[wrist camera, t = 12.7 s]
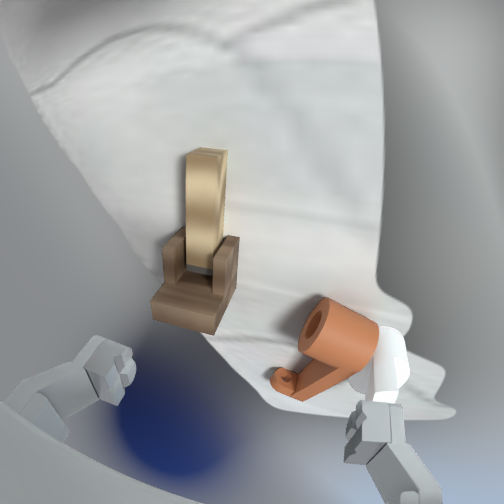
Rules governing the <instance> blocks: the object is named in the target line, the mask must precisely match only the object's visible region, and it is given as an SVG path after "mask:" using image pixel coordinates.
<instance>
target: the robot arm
mask: <svg viewBox="0 0 504 504" xmlns="http://www.w3.org/2000/svg"><path fill="white" fill-rule="evenodd" d="M132 355H133V353H132V350H131V348H130V347H127V346H124V345H121V344H119V343H116V342H113V341H111V340H108V339H106V338H103V337H101V336H98V335H95V336H93V337H92V338H91V339H90V341H89V342H88V343H87V344H86V345H85V346H84V348H83V349H82V350H81V351H80V353H79V354H78V355H77V356H76V358H75V359H74V360H73V361H72V363H71V362H66V363H64V364H61V365H59V366H57V367H54V368H52V369H49V370H47V371H44V372H42V373H39V374H37V375H35V376H32V377H30V378H27V379H25V380H22V381H21V382H20V383H19V385H18V386H17V387H16V389H15V390H14V391H13V392H12V393H11V395H10V396H9V397H8V398H7V400H6V401H5V402H2V401H1V400H0V504H203V503H199V502H196V501H192V500H189V499H186V498H183V497H180V496H177V495H174V494H171V493H168V492H166V491H163V490H160V489H158V488H155V487H152V486H149V485H147V484H145V483H142V482H140V481H137V480H135V479H133V478H130V477H128V476H126V475H124V474H121V473H119V472H117V471H115V470H113V469H111V468H109V467H106V466H104V465H102V464H100V463H98V462H96V461H94V460H92V459H91V458H89V457H87V456H85V455H83V454H81V453H79V452H78V451H76V450H74V449H72V448H71V447H69V446H67V445H65V444H64V443H63V442H64V441H65V439H66V438H67V436H68V434H69V429H68V428H67V426H66V425H65V424H64V422H63V420H65V419H67V418H68V417H70V416H72V415H73V414H75V413H77V412H78V411H80V410H82V409H84V408H85V407H87V406H89V405H90V404H92V403H94V402H95V401H97V400H99V399H102V400H104V401H107V402H109V403H111V404H114V405H116V406H117V405H118V404H119V402H120V401H121V399H122V397H123V396H124V394H125V390H124V387H126V386H128V385H130V384H131V382H132V381H133V379H134V376H135V373H136V365H135V362H134V361H133V359H132V358H131V356H132ZM346 438H347V439H348V441H349V442H348V443H347V445H346V446H345V450H344V463H350V464H360V465H366V468H367V470H368V471H369V473H370V475H371V477H372V479H373V481H374V483H375V485H376V487H377V489H378V491H379V493H380V495H381V497H382V499H383V501H384V502H385V504H442V488H441V487H440V485H439V484H438V483H437V481H436V480H435V478H434V477H433V476H432V474H431V473H430V472H429V470H428V469H427V468H426V466H425V465H424V463H423V462H422V461H421V459H420V458H419V457H418V455H417V454H416V452H415V451H414V450H413V448H412V447H411V446H410V444H406V443H405V429H404V417H403V407H402V405H401V404H396V403H387V402H375V401H364V400H360V401H359V402H358V403H357V405H356V411H354V412H352V413H351V415H350V417H349V419H348V423H347V427H346Z"/></svg>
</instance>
